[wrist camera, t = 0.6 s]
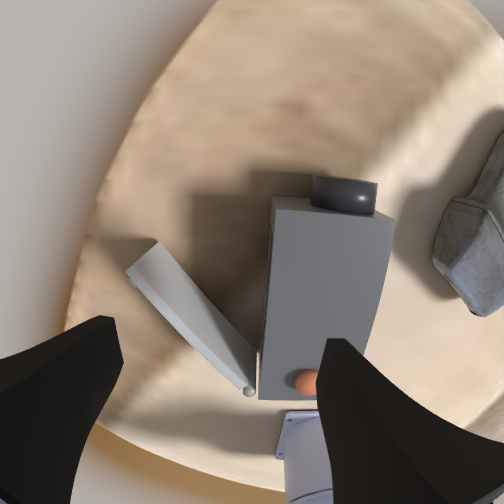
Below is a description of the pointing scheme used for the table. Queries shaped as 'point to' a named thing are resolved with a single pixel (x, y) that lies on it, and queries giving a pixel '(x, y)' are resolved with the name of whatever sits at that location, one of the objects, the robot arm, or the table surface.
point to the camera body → (320, 280)
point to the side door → (195, 317)
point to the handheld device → (476, 240)
